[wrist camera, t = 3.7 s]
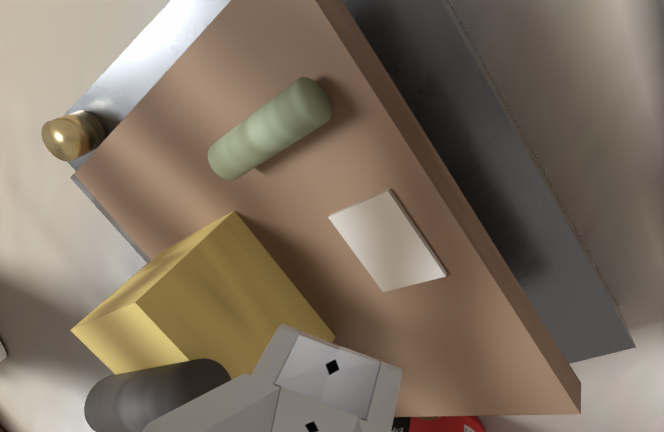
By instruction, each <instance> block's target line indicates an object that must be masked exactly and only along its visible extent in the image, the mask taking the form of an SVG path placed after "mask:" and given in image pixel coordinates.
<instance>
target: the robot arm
mask: <svg viewBox="0 0 664 432" xmlns="http://www.w3.org/2000/svg"><path fill="white" fill-rule="evenodd" d="M6 356H7V354H6V351H5V349H4V347H3V345H2V343H1V342H0V361H2V360H3V359H5V358H6ZM401 377H402V368H399V367H397V366H394V365H391V364H388V363H386V362H383V361H381V362H380V360H378V359H375V358H373V357H370V356H367V355H364V354H361V353H359V352H356V351H353V350H350V349H348V348H345V347H342V346H338V345H335V344H333V343H331V342H328V341H326V340H323V339H321V338H318V337H316V336H313V335H311V334H308V333H306V332H303V331H300V330H298V329H295V328H293V327H290V326H287V325H285V324H281V325H280V326H279V327H278V328H277V330H276V332H275V333H274V335H273V337H272V339H271V340H270V342H269V344H268V346H267V347H266V349H265V351H264V353H263V354H262V356H261V358H260V360H259V361H258V363H257V365H256V367H255V368H254V370H253V372H252V374H251V375H249V374H246V373H244V374H242V375H240V376H238V377H236V378H234V379H232V380H230V381H228V382H227V383H225V384H223V385H221V386H219V387H217V388H215V389H213V390H211V391H209V392H207V393H205V394H203V395H201V396H199V397H198V398H196V399H194V400H192V401H190V402H188V403H186V404H184V405H182V406H180V407H178V408H176V409H174V410H172V411H170V412H169V413H167V414H165V415H163V416H161V417H159V418H157V419H155V420H153V421H151V422H149V423H148V424H147V425H146V427H145V428H144V429H143V431H142V432H392V431H391V430H392V424H393V419H394V414H395V409H396V404H397V398H398V393H399V388H400V383H401Z"/></svg>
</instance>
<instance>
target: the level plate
mask: <svg viewBox="0 0 664 432" xmlns="http://www.w3.org/2000/svg"><path fill="white" fill-rule="evenodd" d="M71 179H72V180H73V181H74V182H75V183H76V185H77V186H78V187H79V188H80V189H81V190H82V191H83V192H84V193H85V195H86V196H87V197H88V198H89V199H90V200H91V201H92V202H93V203H94V205H95V206H96V207H97V208H98V209H99V210H100V211H101V212H102V213H103V214H104V216H105V217H106V218H107V219H108V220H109V221H110V222H111V223H112V224H113V226H114V227H115V228H116V229H117V230H118V231H119V232H120V233H121V234H122V236H123V237H124V238H125V239H126V240H127V241H128V242H129V243H130V244H131V246H132V247H133V248H134V249H135V250H136V251H137V252H138V253H139V254H140V256H141V257H142V258H143V259H144V260H145V261H146V262H147V264H146V265H145V266H144V267H143V268H142V269H140V270H139V271H138V272H137V273H136V274H135V275H133V276H132V277H131V278H130V279H129V280H128V281H127V282H125V283H124V284H123V285H122V286H121V287H120V288H118V289H117V290H116V291H115V292H114V293H113V294H111V295H110V296H109V297H108V298H107V299H106V300H104V301H103V302H102V303H101V304H100V305H99V306H98V307H96V308H95V309H94V310H93V311H92V312H91V313H89V314H88V315H87V316H86V317H85V318H84V319H82V320H81V321H80V322H79V323H78V324H77V325H76V326H74V327H73V328H72V329H71V330H70V331H71V332H72V333H73V334H74V335H75V336H76V337H78V338H79V339H80V340H81V341H82V342H83V343H84V344H85V345H86V346H87V347H88V348H89V349H90V350H91V351H92V352H93V353H94V354H95V355H96V356H97V357H98V358H99V359H100V360H101V361H102V362H103V363H104V364H105V365H106V366H107V367H108V368H109V369H110V370H111V371H112V372H113V373H114V374H115V375H112V376H108V377H106V378H104V379H102V380H101V381H99V382H98V383H97V384H96V385H95V386H94V387H93V388H92V389H91V391H90V392H89V394H88V396H87V399H86V402H85V407H84V412H85V418H86V421H87V423H88V424H89V426H90V427H91V428H92V429H93V430H94V431H96V432H142V431H143V429H144V428H145V427H146V425H147V424H148V423H149V422H151V421H153V420H155V419H157V418H159V417H161V416H163V415H165V414H167V413H169V412H170V411H172V410H174V409H176V408H178V407H180V406H182V405H184V404H186V403H188V402H190V401H192V400H194V399H196V398H198V397H199V396H201V395H203V394H205V393H207V392H209V391H211V390H213V389H215V388H217V387H219V386H221V385H223V384H225V383H227V382H228V381H230V380H232V379H234V378H236V377H238V376H240V375H242V374H244V373H246V374H249V375H251V374H252V372H253V370H254V368H255V367H256V365H257V363H258V361H259V360H260V358H261V356H262V354H263V353H264V351H265V349H266V347H267V346H268V344H269V342H270V340H271V339H272V337H273V335H274V333H275V332H276V330H277V328H278V327H279V326H280V325H281V324H285V325H287V326H290V327H293V328H295V329H298V330H300V331H303V332H306V333H308V334H311V335H313V336H316V337H318V338H321V339H323V340H326V341H328V342H331V343H333V344H335V345H338V346H342V347H345V348H348V349H350V350H353V351H356V352H359V353H361V354H364V355H367V356H370V357H373V358H375V359H378V360H380V362H381V361H383V362H386V363H388V364H391V365H394V366H397V367H399V368H402V377H401V383H400V388H399V393H398V398H397V404H396V409H395V414H394V417H427V416H488V415H549V414H581V382H580V381H579V379H578V378H577V376H576V374H575V373H574V371H573V370H572V368H571V366H570V365H569V363H568V362H567V360H566V358H565V357H564V355H563V354H562V352H561V350H560V349H559V347H558V346H557V344H556V342H555V341H554V339H553V338H552V336H551V334H550V333H549V331H548V330H547V328H546V326H545V325H544V323H543V322H542V320H541V318H540V317H539V315H538V314H537V312H536V310H535V309H534V307H533V306H532V304H531V302H530V301H529V299H528V297H527V296H526V294H525V293H524V291H523V289H522V288H521V286H520V285H519V283H518V281H517V280H516V278H515V277H514V275H513V273H512V272H511V270H510V269H509V267H508V265H507V264H506V262H505V261H504V259H503V257H502V256H501V254H500V253H499V251H498V249H497V248H496V246H495V245H494V243H493V241H492V240H491V238H490V237H489V235H488V233H487V232H486V230H485V229H484V227H483V225H482V224H481V222H480V221H479V219H478V217H477V216H476V214H475V213H474V211H473V209H472V208H471V206H470V205H469V203H468V201H467V200H466V198H465V197H464V195H463V193H462V192H461V190H460V188H459V187H458V185H457V184H456V182H455V180H454V179H453V177H452V176H451V174H450V172H449V171H448V169H447V168H446V166H445V164H444V163H443V161H442V160H441V158H440V156H439V155H438V153H437V152H436V150H435V148H434V147H433V145H432V144H431V142H430V140H429V139H428V137H427V136H426V134H425V132H424V131H423V129H422V128H421V126H420V124H419V123H418V121H417V120H416V118H415V116H414V115H413V113H412V112H411V110H410V108H409V107H408V105H407V104H406V102H405V100H404V99H403V97H402V96H401V94H400V92H399V91H398V89H397V88H396V86H395V84H394V83H393V81H392V79H391V78H390V76H389V75H388V73H387V71H386V70H385V68H384V67H383V65H382V63H381V62H380V60H379V59H378V57H377V55H376V54H375V52H374V51H373V49H372V47H371V46H370V44H369V43H368V41H367V39H366V38H365V36H364V35H363V33H362V31H361V30H360V28H359V27H358V25H357V23H356V22H355V20H354V19H353V17H352V15H351V14H350V12H349V11H348V9H347V7H346V6H345V4H344V3H343V1H342V0H231V1H230V2H229V3H228V4H227V5H226V6H225V7H224V8H223V9H222V11H221V12H220V13H219V14H218V15H217V16H216V17H215V18H214V19H213V21H212V22H211V23H210V24H209V25H208V26H207V27H206V28H205V29H204V31H203V32H202V33H201V34H200V35H199V36H198V37H197V38H196V39H195V40H194V42H193V43H192V44H191V45H190V46H189V47H188V48H187V49H186V50H185V52H184V53H183V54H182V55H181V56H180V57H179V58H178V59H177V60H176V62H175V63H174V64H173V65H172V66H171V67H170V68H169V69H168V70H167V71H166V73H165V74H164V75H163V76H162V77H161V78H160V79H159V80H158V81H157V83H156V84H155V85H154V86H153V87H152V88H151V89H150V90H149V91H148V93H147V94H146V95H145V96H144V97H143V98H142V99H141V100H140V101H139V102H138V104H137V105H136V106H135V107H134V108H133V109H132V110H131V111H130V112H129V114H128V115H127V116H126V117H125V118H124V119H123V120H122V121H121V122H120V124H119V125H118V126H117V127H116V128H115V129H114V130H113V131H112V132H111V133H110V135H109V136H108V137H107V138H106V139H105V140H104V141H103V142H102V143H101V145H100V146H99V147H98V148H97V149H96V150H95V151H94V152H93V153H92V155H91V156H90V157H89V158H88V159H87V160H86V161H85V162H84V163H83V164H82V166H81V167H80V168H79V169H78V170H77V171H76V172H75V173H74V174H73V175H72V176H71Z"/></svg>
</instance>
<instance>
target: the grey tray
mask: <svg viewBox="0 0 664 432" xmlns="http://www.w3.org/2000/svg"><path fill="white" fill-rule="evenodd" d="M230 1H231V0H172V1H171V2H170V3H169V4H168V5H167V6H166V7H165V8H164V9H163V10H162V11H161V12H160V13H159V14H158V15H157V17H156V18H155V19H154V20H153V21H152V22H151V23H150V24H149V25H148V26H147V27H146V28H145V29H144V30H143V31H142V33H141V34H140V35H139V36H138V37H137V38H136V39H135V40H134V41H133V42H132V43H131V44H130V45H129V46H128V47H127V49H126V50H125V51H124V52H123V53H122V54H121V55H120V56H119V57H118V58H117V59H116V60H115V61H114V62H113V63H112V65H111V66H110V67H109V68H108V69H107V70H106V71H105V72H104V73H103V74H102V75H101V76H100V77H99V78H98V79H97V81H96V82H95V83H94V84H93V85H92V86H91V87H90V88H89V89H88V90H87V91H86V92H85V93H84V94H83V95H82V97H81V98H80V99H79V100H78V101H77V102H76V103H75V104H74V105H73V106H72V107H71V108H70V109H69V110H68V111H67V113H66V114H65V115H64V116H63V117H60V118H57V119H54V120H52V121H49V122H47V123H45V124H44V125H43V127H42V138H43V141H44V144H45V146H46V147H47V149H48V150H49V151H50V152H51V153H52V154H53V155H54V156H55V157H57V158H58V159H60V160H63V161H67V162H68V163H69V164H70V165H71V166H72V167H73V168H74V169H75V171H77V170H78V169H79V168H80V167H81V166H82V164H83V163H84V162H85V161H86V160H87V159H88V158H89V157H90V156H91V155H92V153H93V152H94V151H95V150H96V149H97V148H98V147H99V146H100V145H101V143H102V142H103V141H104V140H105V139H106V138H107V137H108V136H109V135H110V133H111V132H112V131H113V130H114V129H115V128H116V127H117V126H118V125H119V124H120V122H121V121H122V120H123V119H124V118H125V117H126V116H127V115H128V114H129V112H130V111H131V110H132V109H133V108H134V107H135V106H136V105H137V104H138V102H139V101H140V100H141V99H142V98H143V97H144V96H145V95H146V94H147V93H148V91H149V90H150V89H151V88H152V87H153V86H154V85H155V84H156V83H157V81H158V80H159V79H160V78H161V77H162V76H163V75H164V74H165V73H166V71H167V70H168V69H169V68H170V67H171V66H172V65H173V64H174V63H175V62H176V60H177V59H178V58H179V57H180V56H181V55H182V54H183V53H184V52H185V50H186V49H187V48H188V47H189V46H190V45H191V44H192V43H193V42H194V40H195V39H196V38H197V37H198V36H199V35H200V34H201V33H202V32H203V31H204V29H205V28H206V27H207V26H208V25H209V24H210V23H211V22H212V21H213V19H214V18H215V17H216V16H217V15H218V14H219V13H220V12H221V11H222V9H223V8H224V7H225V6H226V5H227V4H228V3H229V2H230ZM342 1H343V3H344V4H345V6H346V7H347V9H348V11H349V12H350V14H351V15H352V17H353V19H354V20H355V22H356V23H357V25H358V27H359V28H360V30H361V31H362V33H363V35H364V36H365V38H366V39H367V41H368V43H369V44H370V46H371V47H372V49H373V51H374V52H375V54H376V55H377V57H378V59H379V60H380V62H381V63H382V65H383V67H384V68H385V70H386V71H387V73H388V75H389V76H390V78H391V79H392V81H393V83H394V84H395V86H396V88H397V89H398V91H399V92H400V94H401V96H402V97H403V99H404V100H405V102H406V104H407V105H408V107H409V108H410V110H411V112H412V113H413V115H414V116H415V118H416V120H417V121H418V123H419V124H420V126H421V128H422V129H423V131H424V132H425V134H426V136H427V137H428V139H429V140H430V142H431V144H432V145H433V147H434V148H435V150H436V152H437V153H438V155H439V156H440V158H441V160H442V161H443V163H444V164H445V166H446V168H447V169H448V171H449V172H450V174H451V176H452V177H453V179H454V180H455V182H456V184H457V185H458V187H459V188H460V190H461V192H462V193H463V195H464V197H465V198H466V200H467V201H468V203H469V205H470V206H471V208H472V209H473V211H474V213H475V214H476V216H477V217H478V219H479V221H480V222H481V224H482V225H483V227H484V229H485V230H486V232H487V233H488V235H489V237H490V238H491V240H492V241H493V243H494V245H495V246H496V248H497V249H498V251H499V253H500V254H501V256H502V257H503V259H504V261H505V262H506V264H507V265H508V267H509V269H510V270H511V272H512V273H513V275H514V277H515V278H516V280H517V281H518V283H519V285H520V286H521V288H522V289H523V291H524V293H525V294H526V296H527V297H528V299H529V301H530V302H531V304H532V306H533V307H534V309H535V310H536V312H537V314H538V315H539V317H540V318H541V320H542V322H543V323H544V325H545V326H546V328H547V330H548V331H549V333H550V334H551V336H552V338H553V339H554V341H555V342H556V344H557V346H558V347H559V349H560V350H561V352H562V354H563V355H564V357H565V358H566V360H567V362H568V363H573V362H577V361H581V360H585V359H589V358H594V357H598V356H602V355H606V354H610V353H614V352H618V351H622V350H626V349H630V348H634V347H636V346H635V344H634V342H633V339H632V337H631V335H630V333H629V330H628V328H627V326H626V323H625V321H624V319H623V317H622V314H621V312H620V310H619V308H618V306H617V304H616V302H615V300H614V299H613V297H612V295H611V293H610V291H609V290H608V288H607V286H606V284H605V282H604V281H603V279H602V277H601V275H600V273H599V272H598V270H597V268H596V266H595V264H594V263H593V261H592V259H591V257H590V255H589V254H588V252H587V250H586V248H585V246H584V245H583V243H582V241H581V239H580V237H579V236H578V234H577V232H576V230H575V228H574V227H573V225H572V223H571V221H570V219H569V218H568V216H567V214H566V212H565V210H564V209H563V207H562V205H561V203H560V201H559V200H558V198H557V196H556V194H555V192H554V191H553V189H552V187H551V185H550V183H549V182H548V180H547V178H546V176H545V174H544V173H543V171H542V169H541V167H540V165H539V164H538V162H537V160H536V158H535V156H534V155H533V153H532V151H531V149H530V147H529V146H528V144H527V142H526V140H525V138H524V137H523V135H522V133H521V131H520V129H519V128H518V126H517V124H516V122H515V120H514V119H513V117H512V115H511V113H510V111H509V110H508V108H507V106H506V104H505V102H504V101H503V99H502V97H501V95H500V93H499V92H498V90H497V88H496V86H495V84H494V83H493V81H492V79H491V77H490V75H489V74H488V72H487V70H486V68H485V66H484V65H483V63H482V61H481V59H480V57H479V56H478V54H477V52H476V50H475V48H474V47H473V45H472V43H471V41H470V39H469V38H468V36H467V34H466V32H465V30H464V29H463V27H462V25H461V23H460V21H459V20H458V18H457V16H456V14H455V12H454V11H453V9H452V7H451V5H450V3H449V2H448V0H342ZM440 417H441V416H427V417H416V418H418V419H421V420H428V421H430V420H436V419H438V418H440Z"/></svg>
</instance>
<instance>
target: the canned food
mask: <svg viewBox="0 0 664 432" xmlns="http://www.w3.org/2000/svg"><path fill="white" fill-rule="evenodd" d="M391 431H392V432H486V431H485V428H484V427H483V425H482V423H481V421H480V420H479V419H478V418H477V417H476V416H441V417H440V418H438V419H436V420H430V421H428V420H421V419H418V418H416V417H394V419H393V424H392V430H391Z"/></svg>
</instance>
